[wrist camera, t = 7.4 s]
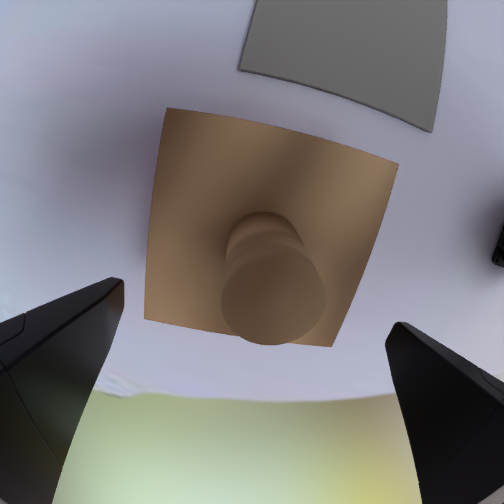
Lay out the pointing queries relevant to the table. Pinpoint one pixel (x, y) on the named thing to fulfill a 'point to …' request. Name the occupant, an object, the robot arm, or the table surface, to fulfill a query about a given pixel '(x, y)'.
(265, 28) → the mat
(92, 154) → the table surface
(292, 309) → the lid
